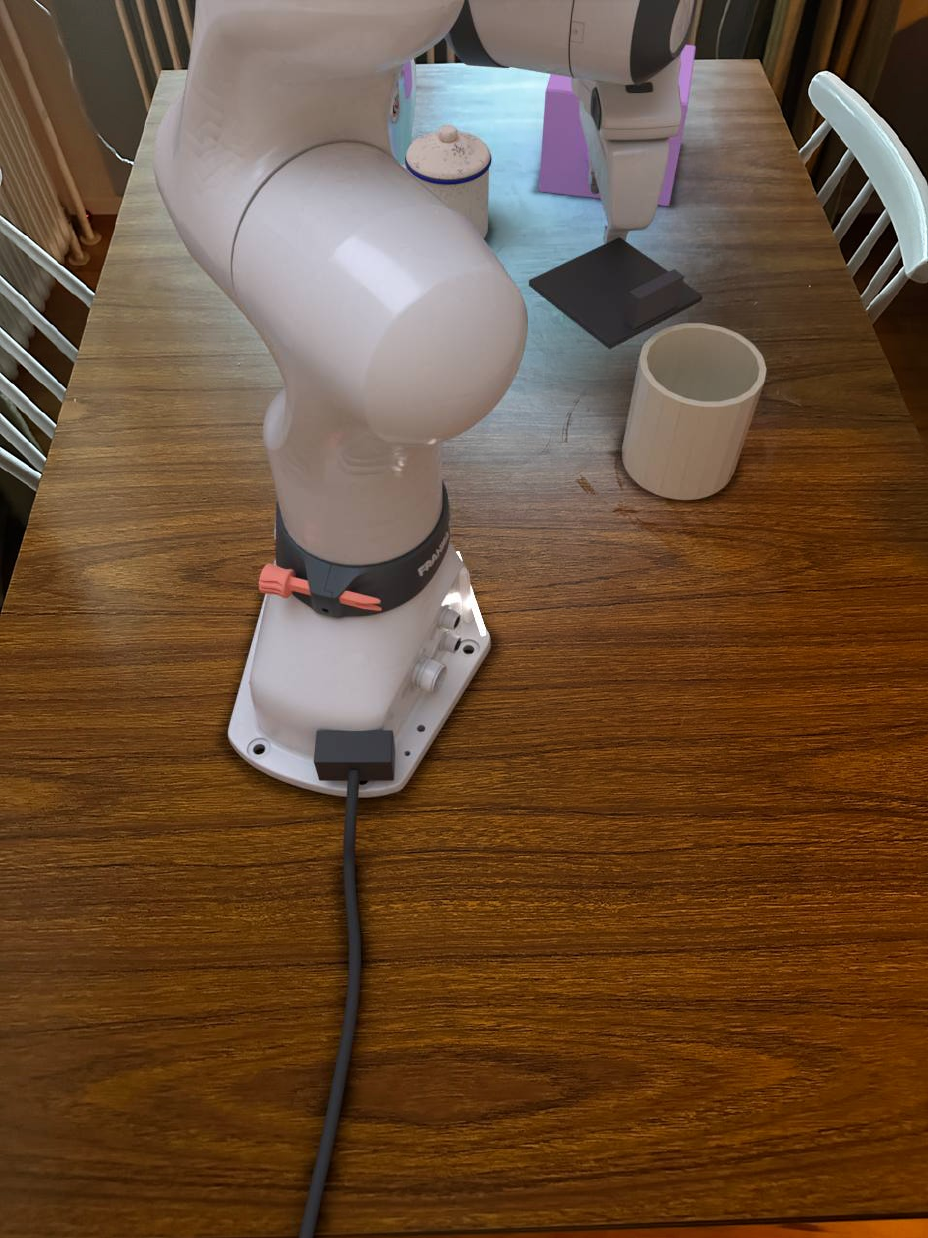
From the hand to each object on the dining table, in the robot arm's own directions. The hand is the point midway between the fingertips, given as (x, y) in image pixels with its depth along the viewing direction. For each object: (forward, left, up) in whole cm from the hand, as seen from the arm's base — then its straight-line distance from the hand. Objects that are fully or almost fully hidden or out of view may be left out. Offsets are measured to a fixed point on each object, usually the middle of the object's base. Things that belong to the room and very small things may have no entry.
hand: (605, 217), depth 91 cm
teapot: (+25, +4, -10) cm, 27 cm away
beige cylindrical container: (-19, -12, -10) cm, 25 cm away
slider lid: (-13, -3, +1) cm, 13 cm away
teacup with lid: (+8, +20, -10) cm, 24 cm away
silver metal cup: (+18, +29, -10) cm, 35 cm away
